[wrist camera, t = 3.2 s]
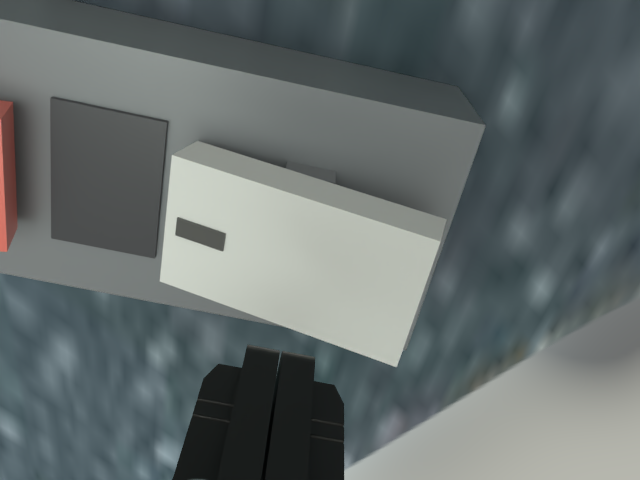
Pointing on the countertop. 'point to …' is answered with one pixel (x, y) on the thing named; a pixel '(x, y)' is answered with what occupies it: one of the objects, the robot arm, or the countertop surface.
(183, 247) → the white rocker
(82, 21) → the rocker switch panel
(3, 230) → the block
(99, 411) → the countertop surface
